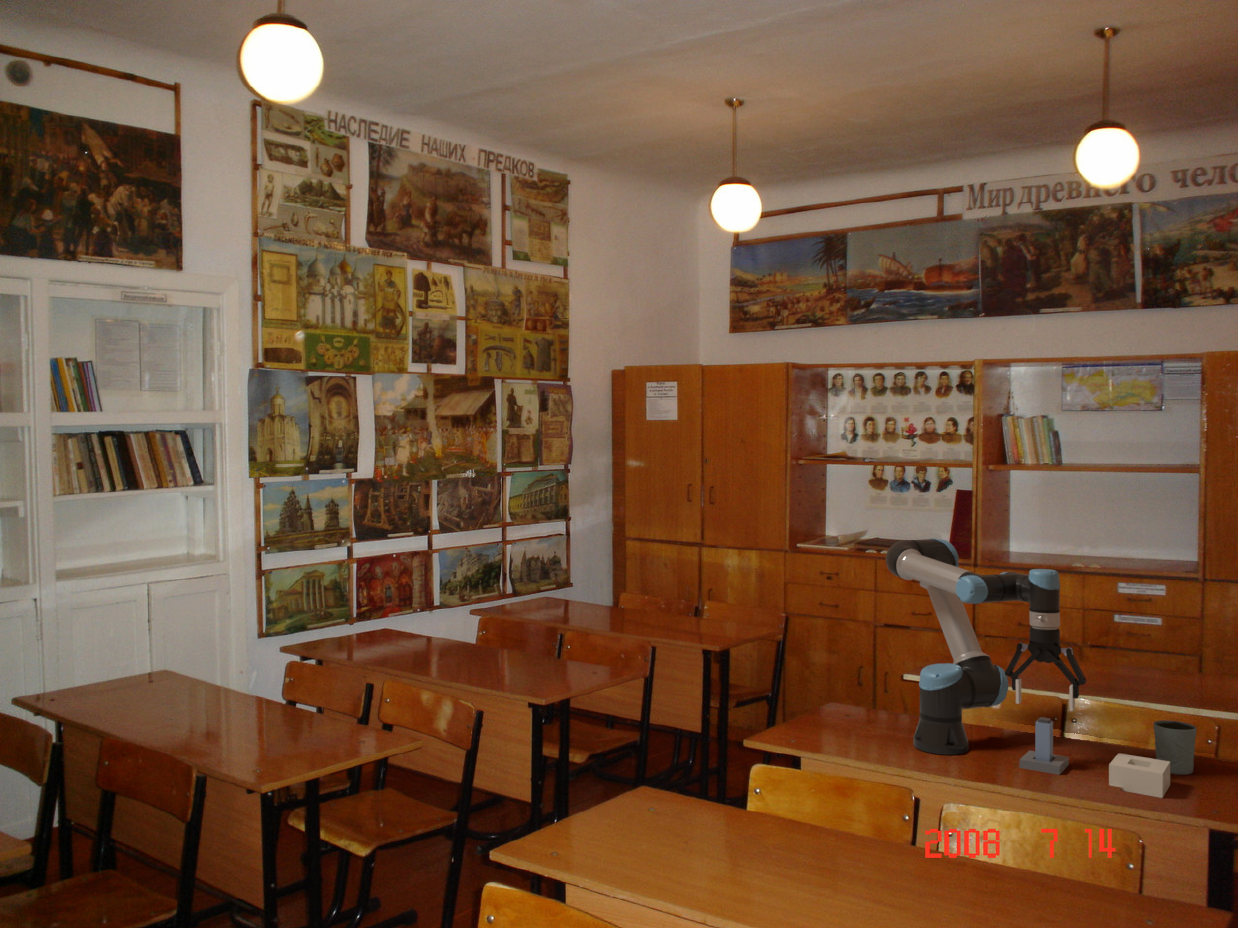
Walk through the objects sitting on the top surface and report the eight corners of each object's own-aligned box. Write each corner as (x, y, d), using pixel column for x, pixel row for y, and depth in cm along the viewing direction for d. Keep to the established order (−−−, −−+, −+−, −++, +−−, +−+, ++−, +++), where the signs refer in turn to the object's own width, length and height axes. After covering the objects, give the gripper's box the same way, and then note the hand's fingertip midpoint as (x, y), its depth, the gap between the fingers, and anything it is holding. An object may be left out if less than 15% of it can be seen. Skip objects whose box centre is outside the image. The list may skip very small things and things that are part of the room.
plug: (1035, 766, 264) (1035, 719, 264) (1038, 763, 267) (1038, 716, 267) (1049, 769, 262) (1049, 721, 262) (1052, 765, 264) (1053, 718, 264)
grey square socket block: (1019, 770, 263) (1019, 759, 263) (1029, 760, 271) (1029, 750, 271) (1059, 777, 257) (1059, 766, 257) (1068, 767, 265) (1068, 756, 265)
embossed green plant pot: (1155, 772, 261) (1155, 727, 261) (1150, 761, 271) (1151, 718, 270) (1199, 777, 257) (1199, 731, 257) (1193, 765, 267) (1193, 721, 267)
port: (1108, 788, 249) (1109, 764, 249) (1118, 775, 259) (1118, 752, 259) (1162, 797, 242) (1162, 773, 242) (1170, 784, 251) (1170, 761, 251)
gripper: (992, 624, 268) (993, 702, 268) (1092, 633, 253) (1092, 716, 253) (1000, 621, 274) (1001, 697, 274) (1098, 629, 259) (1098, 710, 259)
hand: (1045, 706), depth 264 cm, fingers open, 13 cm apart
